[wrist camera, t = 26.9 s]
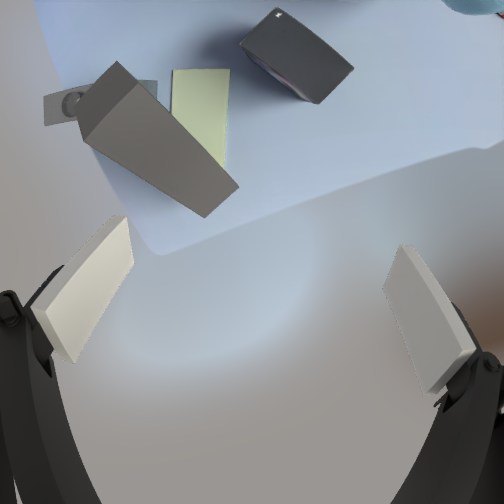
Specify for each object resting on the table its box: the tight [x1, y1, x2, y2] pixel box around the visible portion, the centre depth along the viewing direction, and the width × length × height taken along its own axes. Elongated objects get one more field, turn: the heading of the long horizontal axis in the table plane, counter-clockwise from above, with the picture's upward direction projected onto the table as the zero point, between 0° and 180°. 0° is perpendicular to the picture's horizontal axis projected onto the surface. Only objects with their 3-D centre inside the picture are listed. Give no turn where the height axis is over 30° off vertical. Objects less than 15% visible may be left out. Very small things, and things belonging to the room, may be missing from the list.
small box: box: [240, 7, 354, 105], centre depth 26 cm, size 11×6×10 cm, turn 51°
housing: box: [44, 80, 157, 126], centre depth 28 cm, size 4×11×13 cm, turn 85°
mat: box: [171, 69, 231, 169], centre depth 36 cm, size 18×8×1 cm, turn 176°
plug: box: [74, 61, 239, 218], centre depth 28 cm, size 22×6×8 cm
